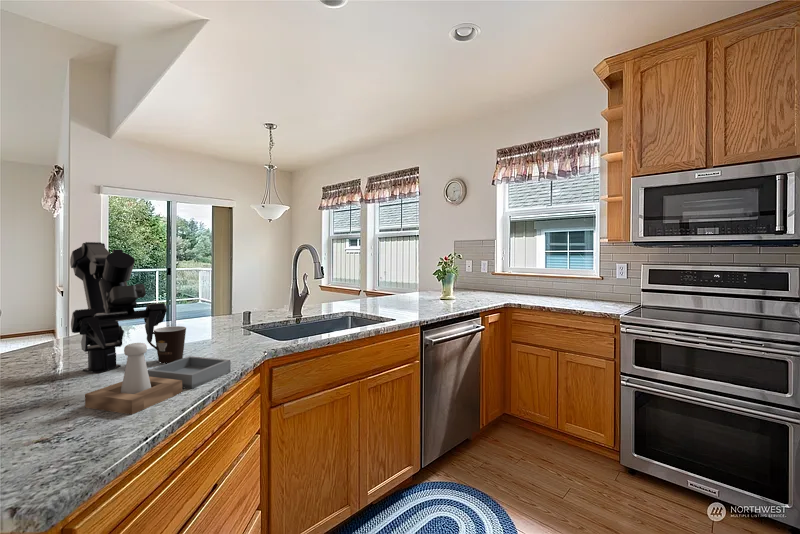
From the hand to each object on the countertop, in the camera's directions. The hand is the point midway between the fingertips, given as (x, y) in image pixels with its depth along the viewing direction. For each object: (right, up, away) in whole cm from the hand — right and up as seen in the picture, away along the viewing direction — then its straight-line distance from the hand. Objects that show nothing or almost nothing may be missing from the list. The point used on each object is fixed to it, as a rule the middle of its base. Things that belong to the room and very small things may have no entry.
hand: (128, 344), depth 90 cm
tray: (+8, -12, +12) cm, 19 cm away
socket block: (+4, -12, -3) cm, 13 cm away
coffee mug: (-8, -11, +29) cm, 32 cm away
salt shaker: (+4, -12, -3) cm, 13 cm away
